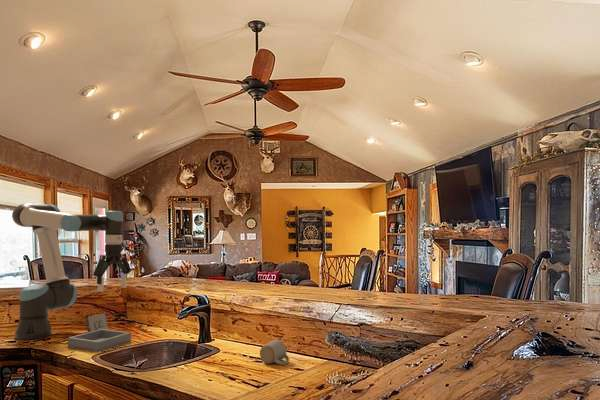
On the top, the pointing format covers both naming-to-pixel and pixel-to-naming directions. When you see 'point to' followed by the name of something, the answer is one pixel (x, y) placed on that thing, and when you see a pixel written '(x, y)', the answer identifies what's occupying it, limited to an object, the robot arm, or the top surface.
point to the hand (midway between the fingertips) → (112, 289)
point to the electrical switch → (96, 322)
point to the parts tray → (99, 340)
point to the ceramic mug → (274, 352)
